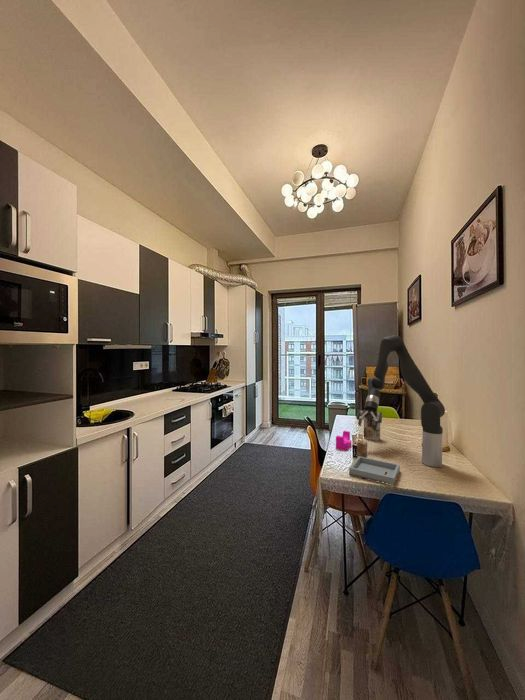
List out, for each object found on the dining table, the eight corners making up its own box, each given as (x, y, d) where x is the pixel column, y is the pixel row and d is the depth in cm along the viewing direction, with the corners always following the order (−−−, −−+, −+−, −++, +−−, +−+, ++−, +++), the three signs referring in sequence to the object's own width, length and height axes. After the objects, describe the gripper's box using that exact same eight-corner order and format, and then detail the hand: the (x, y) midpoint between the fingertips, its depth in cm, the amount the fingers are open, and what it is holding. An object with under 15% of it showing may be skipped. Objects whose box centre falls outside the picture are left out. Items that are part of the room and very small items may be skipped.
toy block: (345, 451, 173) (346, 438, 173) (335, 448, 177) (335, 436, 177) (353, 444, 186) (353, 432, 185) (344, 442, 189) (344, 430, 189)
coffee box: (380, 439, 195) (380, 415, 195) (376, 441, 191) (376, 416, 190) (367, 436, 202) (367, 412, 201) (363, 438, 197) (363, 414, 197)
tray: (399, 471, 145) (399, 464, 145) (394, 486, 130) (394, 478, 130) (358, 462, 156) (358, 456, 156) (349, 475, 140) (349, 467, 140)
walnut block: (367, 458, 162) (367, 441, 162) (365, 460, 159) (365, 444, 158) (358, 456, 165) (359, 440, 164) (356, 458, 161) (357, 442, 161)
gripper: (359, 399, 182) (353, 421, 173) (383, 401, 174) (379, 425, 165) (361, 406, 187) (356, 428, 177) (384, 408, 179) (380, 432, 170)
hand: (367, 426), depth 171 cm, fingers open, 8 cm apart
